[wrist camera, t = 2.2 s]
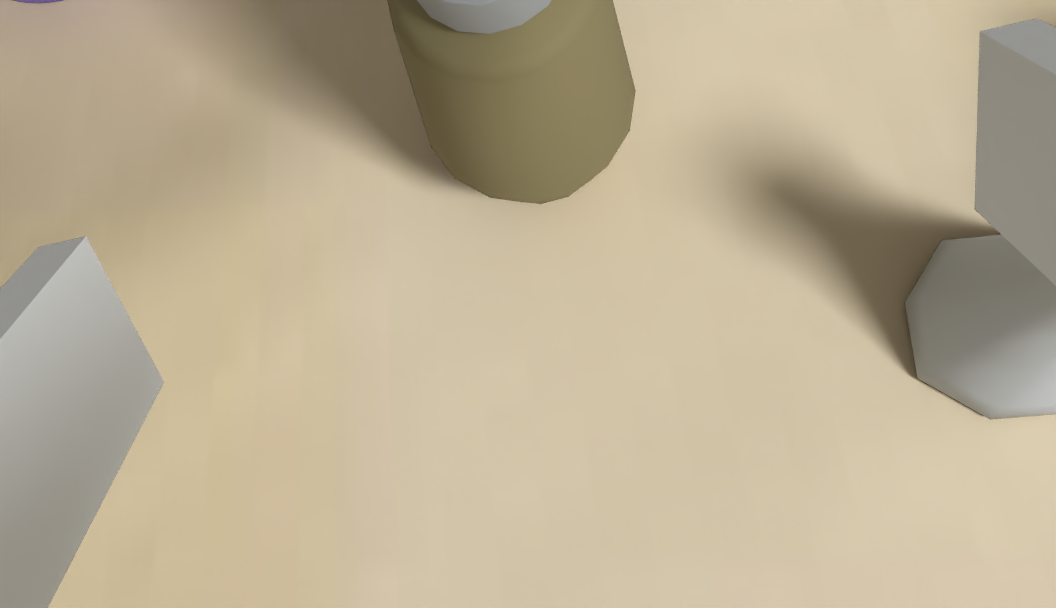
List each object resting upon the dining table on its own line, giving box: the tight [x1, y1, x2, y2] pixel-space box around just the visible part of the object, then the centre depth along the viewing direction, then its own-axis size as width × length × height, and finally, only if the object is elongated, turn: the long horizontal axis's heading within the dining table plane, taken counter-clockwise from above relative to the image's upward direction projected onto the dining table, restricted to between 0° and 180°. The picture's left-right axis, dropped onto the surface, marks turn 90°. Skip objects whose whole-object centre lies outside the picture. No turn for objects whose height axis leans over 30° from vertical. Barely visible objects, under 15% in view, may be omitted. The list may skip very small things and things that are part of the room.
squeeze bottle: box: [387, 0, 635, 204], centre depth 29 cm, size 8×8×18 cm
